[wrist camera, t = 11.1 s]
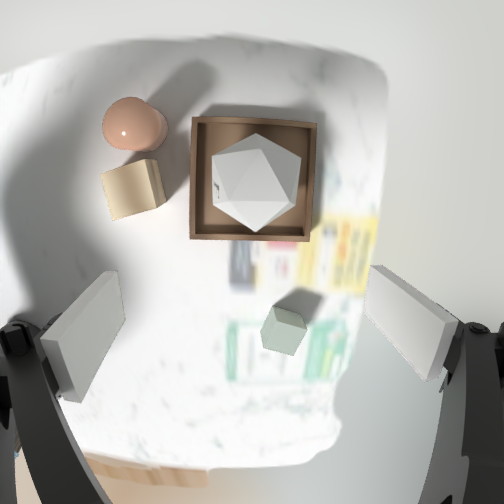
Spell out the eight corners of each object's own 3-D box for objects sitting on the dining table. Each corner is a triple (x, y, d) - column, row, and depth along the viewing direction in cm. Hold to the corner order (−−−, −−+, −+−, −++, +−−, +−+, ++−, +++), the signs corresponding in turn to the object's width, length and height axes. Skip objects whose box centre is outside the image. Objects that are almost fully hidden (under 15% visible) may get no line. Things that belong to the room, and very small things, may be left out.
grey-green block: (260, 331, 38) (263, 348, 34) (272, 305, 37) (276, 321, 33) (287, 338, 39) (293, 355, 35) (300, 314, 38) (307, 329, 34)
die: (242, 124, 30) (185, 146, 23) (319, 138, 27) (281, 165, 20) (240, 190, 35) (190, 228, 28) (309, 210, 32) (272, 257, 25)
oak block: (127, 212, 33) (112, 220, 28) (117, 172, 31) (100, 174, 26) (167, 201, 33) (156, 208, 28) (156, 159, 31) (144, 158, 26)
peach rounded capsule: (125, 152, 31) (101, 151, 24) (127, 111, 29) (104, 99, 22) (167, 151, 31) (151, 147, 24) (169, 108, 30) (154, 94, 23)
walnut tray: (192, 234, 34) (189, 239, 32) (194, 120, 30) (192, 116, 28) (304, 236, 35) (309, 241, 33) (310, 125, 31) (316, 123, 29)
